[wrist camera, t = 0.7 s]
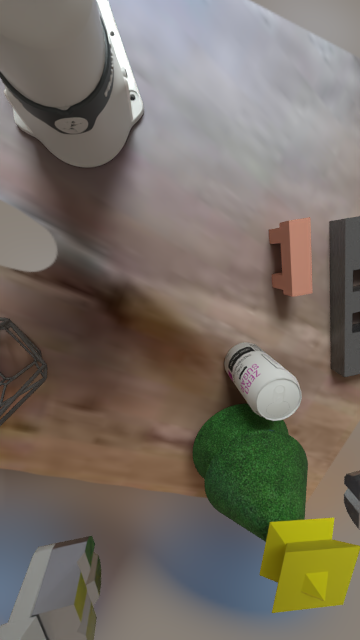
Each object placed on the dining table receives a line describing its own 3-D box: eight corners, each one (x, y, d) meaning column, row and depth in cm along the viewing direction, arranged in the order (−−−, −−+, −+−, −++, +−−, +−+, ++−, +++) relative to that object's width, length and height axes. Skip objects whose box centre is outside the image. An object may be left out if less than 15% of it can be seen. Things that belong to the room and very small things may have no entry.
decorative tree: (184, 466, 58) (223, 680, 29) (191, 386, 53) (247, 544, 24) (266, 464, 60) (378, 656, 31) (280, 387, 56) (425, 530, 27)
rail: (329, 221, 49) (345, 218, 45) (369, 215, 49) (388, 211, 45) (330, 368, 56) (344, 377, 53) (365, 361, 57) (381, 369, 53)
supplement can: (261, 377, 55) (303, 421, 40) (222, 380, 54) (251, 426, 39) (263, 340, 53) (308, 372, 38) (223, 342, 52) (253, 376, 37)
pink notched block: (268, 225, 47) (289, 220, 41) (287, 222, 48) (310, 217, 41) (272, 291, 50) (292, 296, 44) (290, 287, 51) (312, 293, 44)
